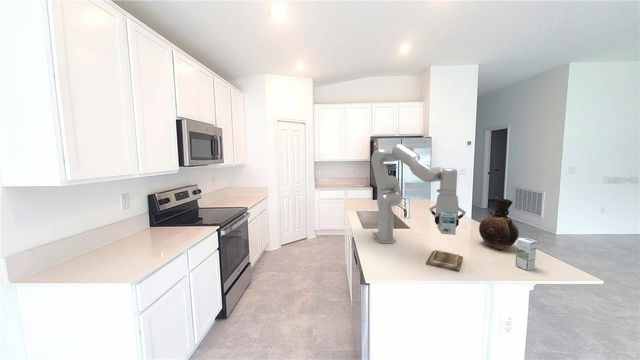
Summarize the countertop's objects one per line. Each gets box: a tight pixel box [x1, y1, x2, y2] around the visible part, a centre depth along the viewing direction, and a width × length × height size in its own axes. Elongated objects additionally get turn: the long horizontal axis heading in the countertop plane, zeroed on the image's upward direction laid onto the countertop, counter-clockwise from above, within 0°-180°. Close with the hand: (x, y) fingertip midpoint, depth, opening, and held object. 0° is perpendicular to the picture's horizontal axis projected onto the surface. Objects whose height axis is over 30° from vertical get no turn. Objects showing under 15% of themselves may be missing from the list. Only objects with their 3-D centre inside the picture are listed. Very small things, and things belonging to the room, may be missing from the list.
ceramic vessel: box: [478, 197, 519, 250], centre depth 148 cm, size 21×18×30 cm
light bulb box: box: [436, 212, 457, 236], centre depth 128 cm, size 11×7×11 cm, turn 166°
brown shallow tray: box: [425, 249, 464, 273], centre depth 131 cm, size 15×18×2 cm
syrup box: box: [514, 237, 538, 272], centre depth 122 cm, size 6×6×14 cm
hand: (446, 225), depth 128 cm, fingers closed on light bulb box, 8 cm apart
